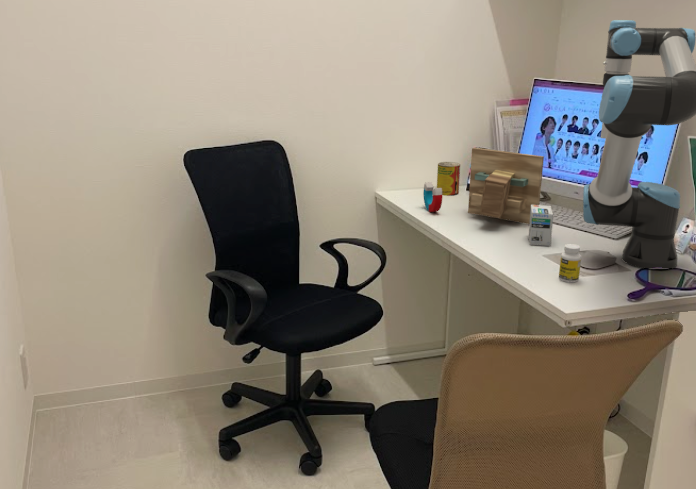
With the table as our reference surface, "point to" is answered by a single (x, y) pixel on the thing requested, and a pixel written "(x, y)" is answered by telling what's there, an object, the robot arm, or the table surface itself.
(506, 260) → the table surface
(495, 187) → the cabinet
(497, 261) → the table surface
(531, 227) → the light bulb box
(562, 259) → the supplement bottle
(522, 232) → the table surface
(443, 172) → the beverage can
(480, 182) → the wall board
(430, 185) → the magnet
